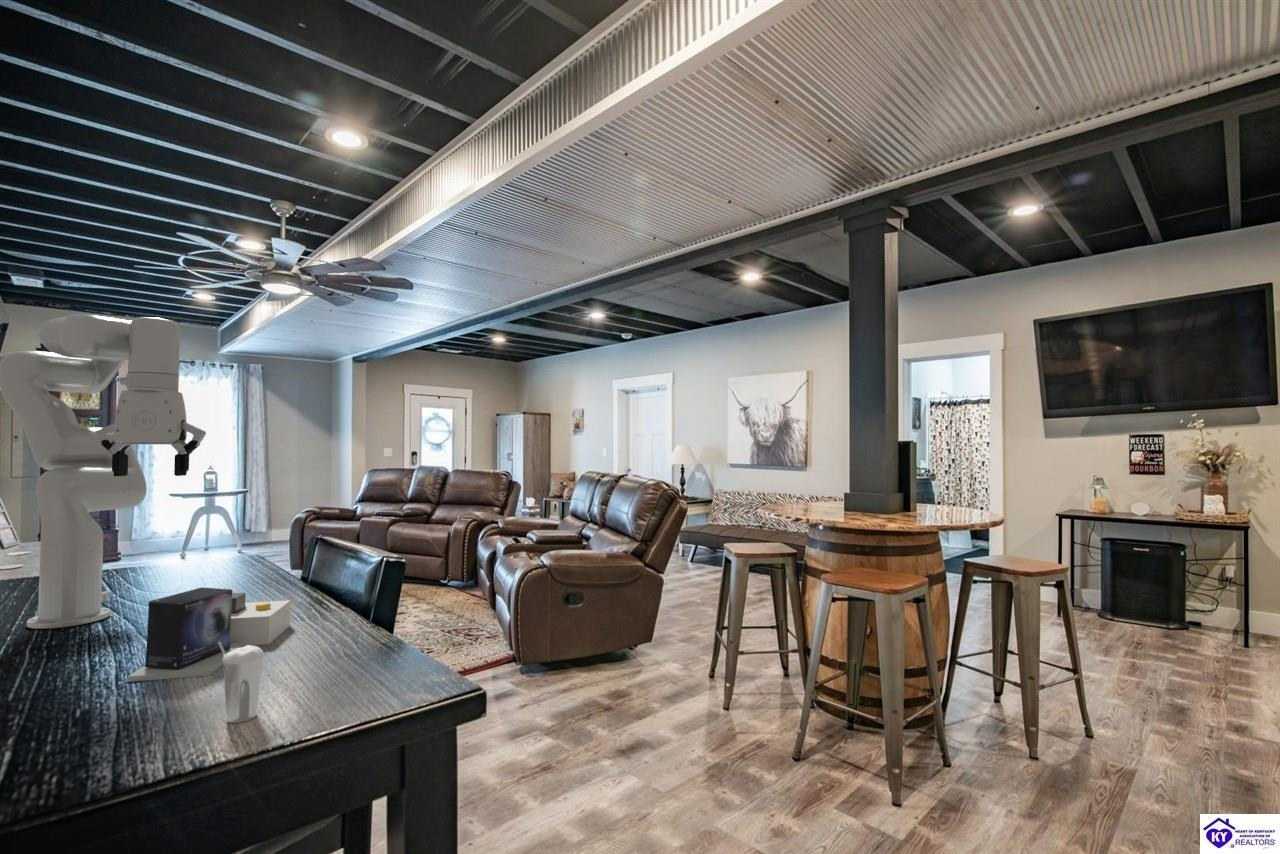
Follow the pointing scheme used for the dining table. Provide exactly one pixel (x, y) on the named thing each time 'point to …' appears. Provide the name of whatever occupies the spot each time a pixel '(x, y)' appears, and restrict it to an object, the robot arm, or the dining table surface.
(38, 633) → the dining table surface
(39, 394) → the robot arm
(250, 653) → the milkshake
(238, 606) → the button
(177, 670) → the lockout pad
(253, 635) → the switch panel
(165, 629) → the small box
